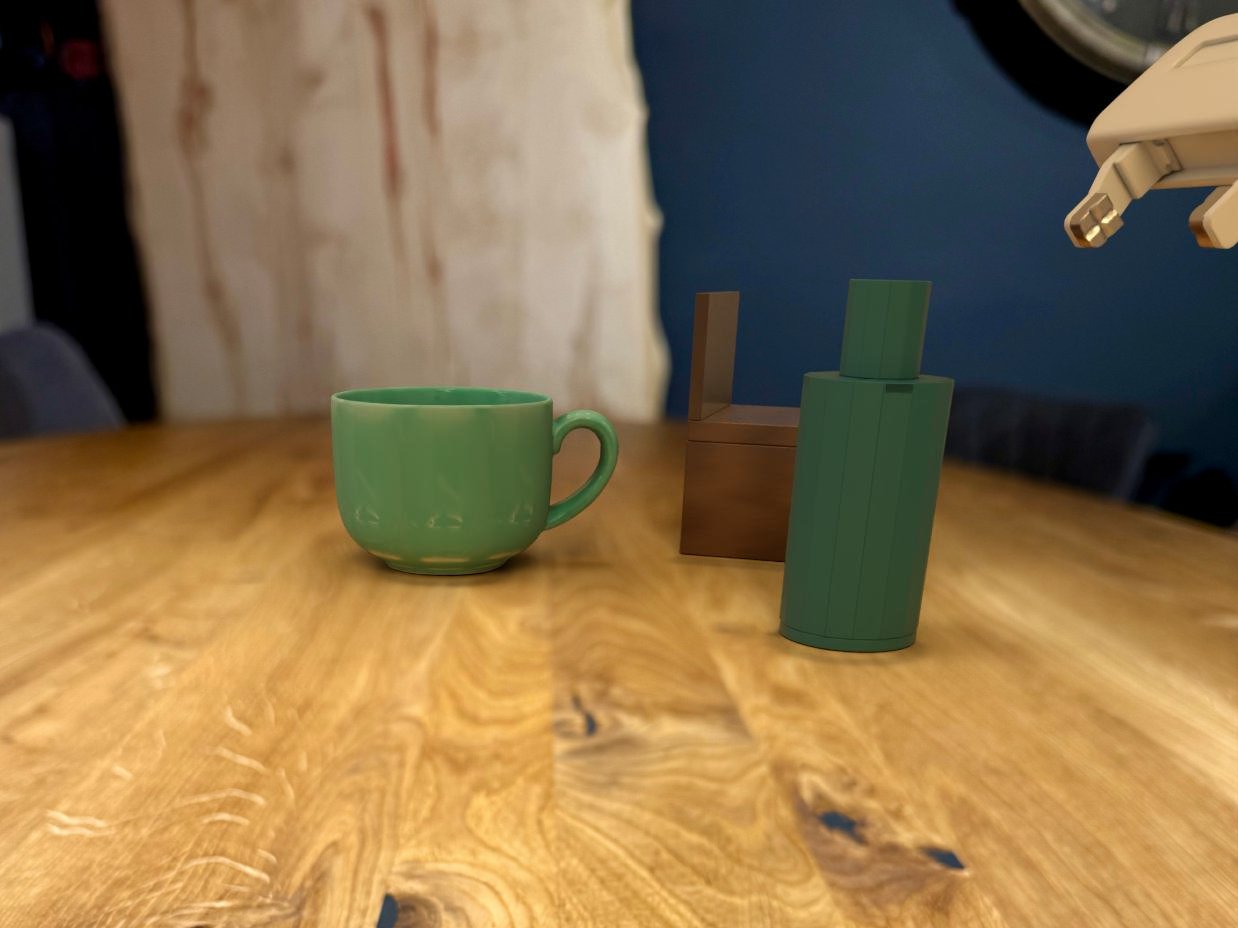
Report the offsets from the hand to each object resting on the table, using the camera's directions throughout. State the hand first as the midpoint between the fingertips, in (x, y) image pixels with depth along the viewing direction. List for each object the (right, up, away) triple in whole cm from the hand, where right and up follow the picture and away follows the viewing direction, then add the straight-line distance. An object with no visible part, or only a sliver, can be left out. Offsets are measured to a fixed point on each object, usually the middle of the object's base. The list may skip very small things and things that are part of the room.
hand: (1136, 236), depth 59 cm
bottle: (-11, -16, +7) cm, 21 cm away
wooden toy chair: (-11, -6, +28) cm, 31 cm away
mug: (-31, -10, +20) cm, 38 cm away
